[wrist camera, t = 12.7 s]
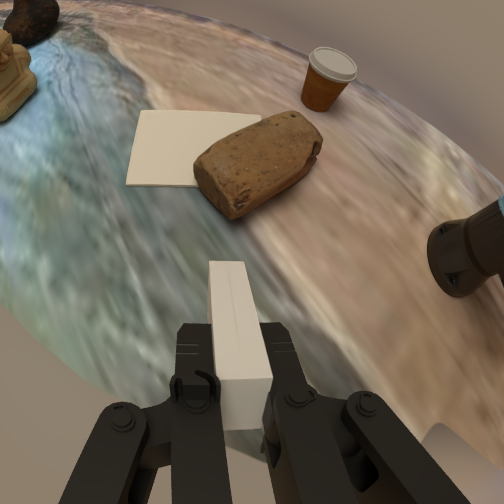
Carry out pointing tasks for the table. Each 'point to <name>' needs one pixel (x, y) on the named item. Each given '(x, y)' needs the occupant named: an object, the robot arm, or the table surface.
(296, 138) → the block
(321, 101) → the disposable coffee cup
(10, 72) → the ceramic vessel
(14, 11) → the glass bottle
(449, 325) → the table surface
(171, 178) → the mat
